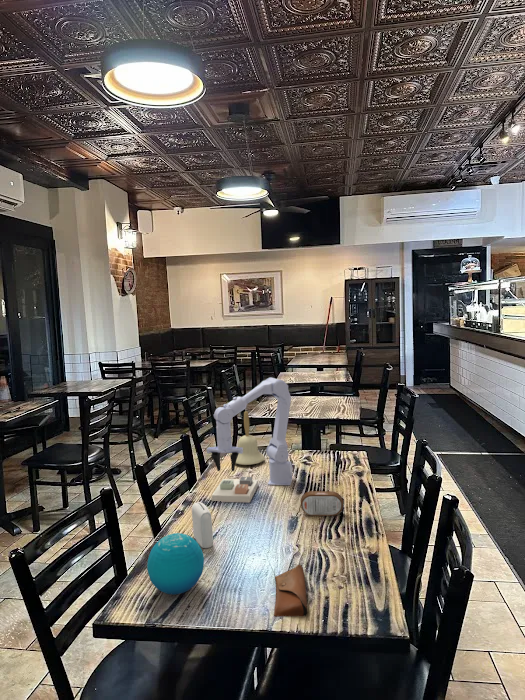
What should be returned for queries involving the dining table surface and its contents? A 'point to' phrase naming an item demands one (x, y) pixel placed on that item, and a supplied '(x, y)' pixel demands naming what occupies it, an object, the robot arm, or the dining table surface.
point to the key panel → (230, 495)
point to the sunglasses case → (291, 593)
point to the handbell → (248, 446)
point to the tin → (321, 503)
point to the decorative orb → (175, 563)
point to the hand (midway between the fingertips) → (226, 470)
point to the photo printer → (202, 525)
